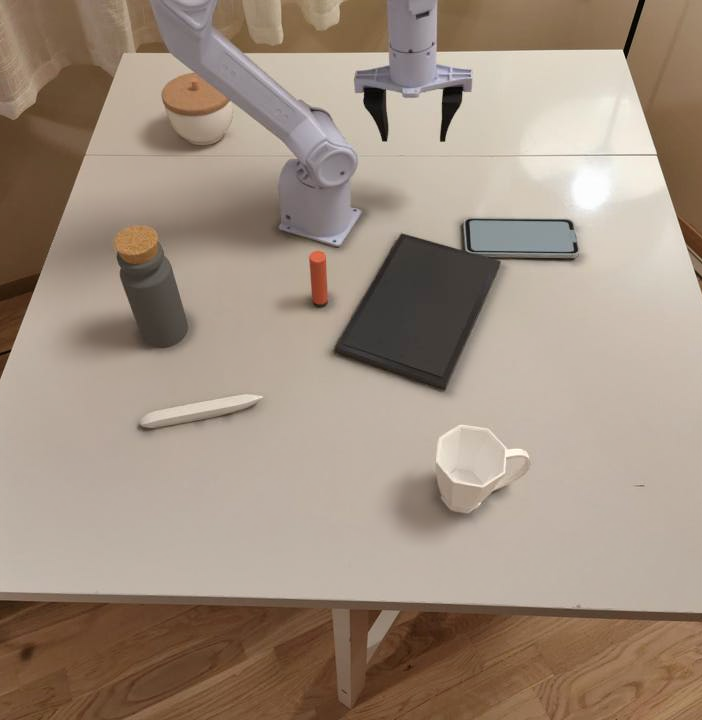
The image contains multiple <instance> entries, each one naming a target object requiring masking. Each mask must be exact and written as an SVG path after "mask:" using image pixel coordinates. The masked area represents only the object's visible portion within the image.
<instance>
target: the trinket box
mask: <svg viewBox="0 0 702 720" xmlns="http://www.w3.org/2000/svg"><path fill="white" fill-rule="evenodd" d="M160 96H161V101H162V104H163V105H164V110H165V113H166V116H167V118H168V121H169V123H170V125H171V126H172V128H173V130H174V131H175V132H176V133H177V134H178V135H179V136H180V137H181V138H183V139H185V140H186V141H187V142H189V143H190V144H192V145H195V146H210V145H212V144H213V145H214V144H216V143H218V142H219V141H221V139H222V138H223V137H224V135H225V134H226V133H227V131H228V130H229V128H230V127H231V123H232V120H233V117H234V103H233V102H232V101H230V100H229V99H228V98H226V97H225V96H224V95H223V94H221V93H220V92H219V91H218V90H216V89H215V88H214V87H212V86H211V85H210V84H209V83H207V82H206V81H205V80H203V79H202V78H201V77H200V76H198V75H197V74H196V73H194V72H189V73H184V74H182V75H178V76H177V77H174V78H172V79H171V80H170V81H168V82H167V83H166V84H165V85H164V86H163V88H162V90H161V95H160Z"/></svg>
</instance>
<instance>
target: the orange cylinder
mask: <svg viewBox="0 0 702 720" xmlns="http://www.w3.org/2000/svg"><path fill="white" fill-rule="evenodd" d="M308 259H309V273H310V288H311V289H310V290H311V302H312V305H313V307H316V308H318V309H320V308H321V309H322V308H325V307H326V306H327V305H328V303H329V295H328V293H329V292H328V271H327V255H326V254H325V252H324V251H322V250H314V251H311V253H310V254H309V255H308Z"/></svg>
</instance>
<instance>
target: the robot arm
mask: <svg viewBox="0 0 702 720" xmlns="http://www.w3.org/2000/svg"><path fill="white" fill-rule="evenodd" d="M148 1H149V4H150V7H151V9H152V13H153V17H154V19H155V23H156V26H157V28H158V32H159V34H160V37H161V39H162V41H163V43H164V44H165V46H166V49H167V51H168V52H169V54H171V55H172V56H173V57H174V58H175V59H176V60H178V61H179V62H180V63H181V64H182V65H184V66H185V67H186V68H188V69H189V70H190V71H192V73H196V74H197V75H198V76H200V77H201V78H202V79H203V80H205V81H206V82H207V83H209V84H210V85H211V86H212V87H214V88H215V89H216V90H218V91H219V92H220V93H221V94H223V95H224V96H225V97H226V98H228V99H229V100H230V101H232V102H233V105H235V106H237V107H238V108H239V109H240V110H241V111H243V112H244V113H245V114H247V115H248V116H250V117H251V118H252V119H253V120H254V121H256V122H257V123H259V125H261V126H262V127H263V128H265V129H266V130H267V131H269V132H270V133H271V134H272V135H274V136H275V137H276V138H277V139H279V140H280V141H282V143H283V144H285V146H286V147H287V148H288V149H289V151H290V152H291V153H292V154H293V155H294V156H295V157H296V158H290V159H288V160H287V161H286V162H285V163H284V165H283V167H282V168H281V170H280V173H279V176H278V177H279V178H278V183H277V196H278V205H279V214H280V224H278V229H279V230H280V231H283V232H286V233H289V234H292V235H296V236H299V237H302V238H306V239H309V240H313V241H316V242H320V243H323V244H327V245H330V246H333V247H336V248H337V247H341V246H342V245H343V243H344V241H345V240H346V239H347V237H348V235H349V234H350V233H351V231H352V229H353V228H354V226H355V225H356V223H357V222H358V220H359V219H360V217H361V215H362V213H363V212H362V210H361V209H359V208H355V207H352V205H351V204H352V195H351V194H352V191H351V190H352V189H351V187H352V186H351V185H352V183H351V181H352V180H351V178H353V176H354V174H355V173H356V170H357V168H358V165H359V157H358V153H357V151H356V150H355V149H354V147H353V146H352V145H351V144H350V143H349V142H348V140H347V139H346V138H345V137H344V135H343V133H342V132H341V130H340V129H339V128H338V126H337V125H336V124H335V122H334V119H333V118H332V116H331V114H330V113H329V112H328V111H327V110H325V109H323V108H321V107H317V106H312V105H309V104H308V103H306V102H305V101H304V100H303V99H301V98H300V99H297V98H296V97H295V96H293V95H292V94H291V93H290V92H289V91H288V90H286V89H285V88H284V87H283V86H282V85H281V84H280V83H278V82H277V81H276V80H275V79H274V78H273V77H272V76H271V75H269V74H268V73H267V72H266V71H265V70H263V68H261V67H260V66H259V65H258V64H257V63H255V62H254V61H253V60H252V59H251V58H250V57H249V56H247V55H246V53H244V52H242V50H240V49H239V48H238V47H237V46H236V45H235V44H234V43H232V42H231V41H230V40H229V39H228V38H227V37H226V36H225V35H223V34H222V33H221V32H219V30H218V29H216V28H215V27H214V26H213V14H214V11H215V9H216V6H217V3H218V0H148ZM438 3H439V0H386V17H387V18H386V19H387V40H388V41H387V42H388V43H387V45H388V65H383V66H379V67H374V68H370V69H363V70H361V69H359V70H355V73H354V76H353V85H354V93H355V94H363V100H362V103H363V106H364V108H365V109H366V111H367V112H368V113H369V114H370V116H371V117H372V119H373V120H374V123H375V125H376V127H377V129H378V132H379V135H380V138H381V142H383V143H385V142H386V143H388V138H389V130H390V129H389V118H388V109H387V91H391V92H395V93H400V94H401V96H402V98H405V99H416V98H419V97H420V94H421V93H426V92H431V91H435V90H442V96H441V122H440V131H439V142H440V143H445V142H446V138H447V134H448V131H449V127H450V125H451V123H452V120H453V119H454V116H455V115H456V113H457V112H458V110H459V109H460V107H461V105H462V102H463V95H464V93H472V92H473V91H472V90H473V77H474V75H473V74H474V69H473V68H460V67H455V66H450V65H443V64H440V63H437V55H438V54H437V52H438V48H437V47H438V43H437V42H438V39H437V38H438Z"/></svg>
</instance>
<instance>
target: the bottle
mask: <svg viewBox="0 0 702 720" xmlns="http://www.w3.org/2000/svg"><path fill="white" fill-rule="evenodd" d="M113 248H114V249H115V251H116V255H115V257H116V261H117V264H118V266H119V268H120V269H119V278H120V282H121V284H122V288H123V290H124V293H125V295H126V299H127V301H128V304H129V306H130V309H131V311H132V315H133V317H134V320H135V322H136V323H135V324H136V325H137V328H138V331H139V333H140V335H141V338H142V340H143V342H145V343H146V344H148V345H149V346H150V347H154V348H158V349H159V348H169V347H172V346H174V345H176V344H178V343H180V342H181V341H182V340H183V339H184V338H185V336H186V335H187V333H188V329H189V324H188V319H187V316H186V312H185V308H184V304H183V301H182V299H181V295H180V291H179V288H178V284H177V281H176V277H175V274H174V270H173V265H172V263H171V261H170V259H168V257H166V256H165V250H164V247H163V245H162V243H161V242H160V241H159V237H158V233H157V231H155V229H153V228H152V227H149V226H146V225H132V226H129V227H126V228H125V229H122V230H121V231H120V232H119V233H117V234H116V236H115V238H114V240H113Z"/></svg>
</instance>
